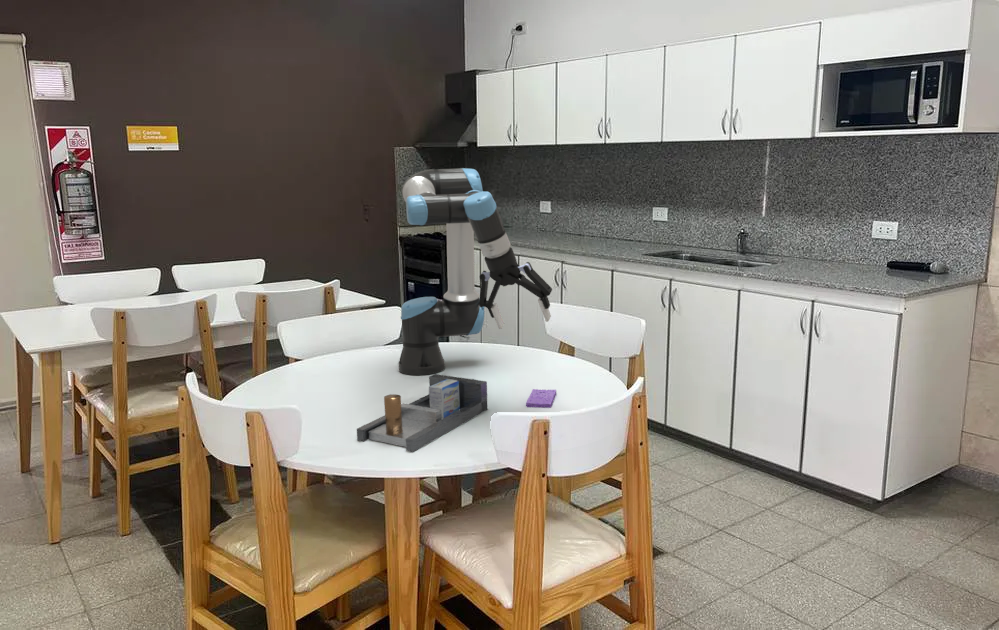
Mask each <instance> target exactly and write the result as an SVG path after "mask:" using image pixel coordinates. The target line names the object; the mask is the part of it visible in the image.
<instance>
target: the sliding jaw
mask: <svg viewBox="0 0 999 630" xmlns="http://www.w3.org/2000/svg"><path fill="white" fill-rule="evenodd" d="M383 400H384V401H383V402H384V415H385V421H386V423H385V424H383V425H381V426H379V427H377V428H375V429H373V430H371V431H369V439H368V440H371V441H375V442H382V443H386V444H391V445H395V446H400V447H405V448H406V438H408V437H410V436H412V435H413V434H415V433H417V432H419V431H421V430H423V429H425V428H426V427H428V426H430V425H432V424H434V423H436V422H438V421H439V420H441V419H442V415H441V410H439V409H434V408H428V407H422V406H416V405H410V403H405V402H402V396H401V395H400V394H387V395H385V396H383Z"/></svg>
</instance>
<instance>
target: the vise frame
mask: <svg viewBox="0 0 999 630" xmlns="http://www.w3.org/2000/svg"><path fill="white" fill-rule="evenodd" d="M446 379H451V380H456V381H459V399H460V410H458V411H456V412H454V413H452V414H451V415H449V416H447V417H445V418H443V419H441V420H439V421H438V422H436V423H434V424H432V425H430V426H428V427H426V428H425V429H423V430H421V431H419V432H417V433H415V434H413V435H412V436H410V437H408V438H406V447H405V448H406V449H405V451H406V452H410V453H413V452H416V451H418V450H419V449H421V448H424V446H426V445H428V444H430V443H432V442H434V441H435V440H437V439H438V438H440V437H442V436H444V435H446V434H448V433H450V432H451V431H453V430H455V429H456V428H458V427H459V426H461V425H463V424H465V423H467V422H468V421H470V420H472V419H474V418H475V417H477V416H479V415H481V414H482V413H484V412H486V411H488V410H489V409H488V384H487V383H488V381H486V380H480V379H474V378H473V379H472V378H466V377H458V376H451V375H445V374H438V373H433V374H431V375H430V376H429V377H428V383H429V385H428V387H429V386H432V385H434V384H437V383H439V382H441V381H444V380H446ZM409 404H410V405H416V406H422V407H428V408H430V398H429V393H428V394H427V395H424V396H423V397H420V398H418V399H416V400H414V401H412V402H410V403H409ZM385 423H386V421H385V414H384V415H383V416H380V417H379V418H376V419H375V420H372V421H370V422H368V423H365V424H363V425H362V426H360V427H358V428H356V436H357V437H356V438H357V439H356V440H357V441H359V442H366V441H368V440H370V439H369V431H371V430H373V429H375V428H377V427H379V426H381V425H383V424H385Z"/></svg>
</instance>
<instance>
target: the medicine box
mask: <svg viewBox="0 0 999 630" xmlns="http://www.w3.org/2000/svg"><path fill="white" fill-rule="evenodd" d="M428 394H429V398H430V408H434V409H439V410H441V415H442V419H443V418H445V417H447V416H449V415H451V414H452V413H454V412H456V411H458V410H460V399H459V381H456V380H451V379H446V380H444V381H441V382H439V383H437V384H434V385H432V386H429V385H428Z"/></svg>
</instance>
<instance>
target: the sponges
mask: <svg viewBox="0 0 999 630" xmlns="http://www.w3.org/2000/svg"><path fill="white" fill-rule="evenodd" d="M556 396H557V389H538V388H536V389H535V388H532V389H531V392H530V394H529V396H528V398H527V400H526V401H525V406H527V408H543V409H546V408H547V409H551V408H552V405H553V404H552V403H554V401H555V398H556Z"/></svg>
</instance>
